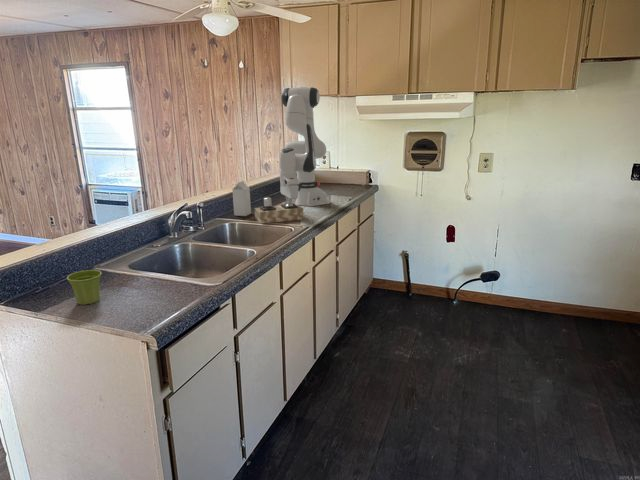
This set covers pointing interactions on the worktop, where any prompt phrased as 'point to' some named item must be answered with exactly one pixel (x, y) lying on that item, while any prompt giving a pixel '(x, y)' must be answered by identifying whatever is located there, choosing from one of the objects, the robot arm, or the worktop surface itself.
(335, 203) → the worktop surface
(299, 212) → the block
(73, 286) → the plant pot
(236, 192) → the milk carton
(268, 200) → the peg
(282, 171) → the robot arm
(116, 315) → the worktop surface
